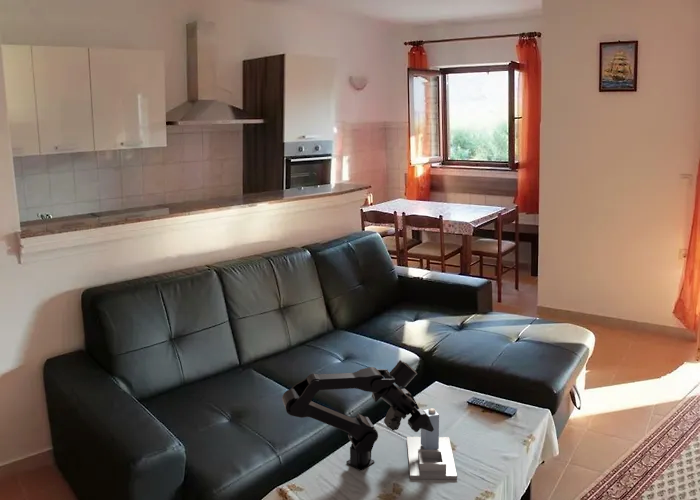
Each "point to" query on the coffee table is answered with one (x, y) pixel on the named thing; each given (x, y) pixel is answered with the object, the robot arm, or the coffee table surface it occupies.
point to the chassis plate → (431, 460)
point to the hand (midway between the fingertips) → (427, 423)
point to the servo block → (431, 438)
